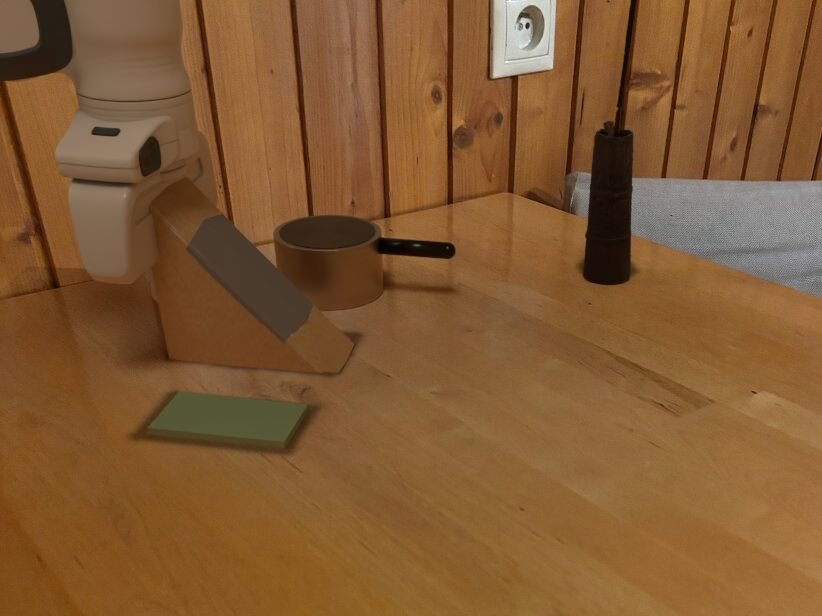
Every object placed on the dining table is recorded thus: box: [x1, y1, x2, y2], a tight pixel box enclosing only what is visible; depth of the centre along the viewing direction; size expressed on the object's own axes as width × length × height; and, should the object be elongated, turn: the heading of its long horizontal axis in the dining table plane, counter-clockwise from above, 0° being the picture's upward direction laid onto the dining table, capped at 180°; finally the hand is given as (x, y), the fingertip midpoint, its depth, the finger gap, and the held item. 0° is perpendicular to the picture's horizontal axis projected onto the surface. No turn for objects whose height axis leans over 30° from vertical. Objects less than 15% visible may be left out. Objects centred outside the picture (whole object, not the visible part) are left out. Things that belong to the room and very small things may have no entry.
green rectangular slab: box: [147, 391, 309, 449], centre depth 75 cm, size 12×7×2 cm, turn 80°
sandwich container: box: [148, 177, 355, 374], centre depth 82 cm, size 9×15×15 cm, turn 80°
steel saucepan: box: [272, 214, 457, 311], centre depth 97 cm, size 19×11×6 cm, turn 80°
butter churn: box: [582, 0, 637, 285], centre depth 95 cm, size 9×10×28 cm
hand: (168, 296), depth 85 cm, fingers closed, pressing on sandwich container
